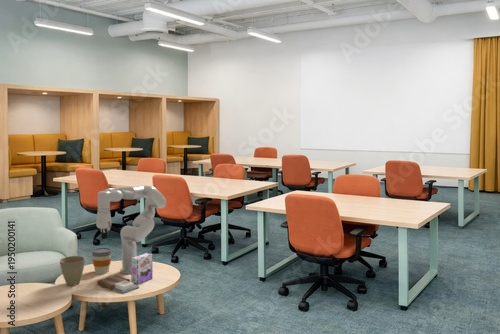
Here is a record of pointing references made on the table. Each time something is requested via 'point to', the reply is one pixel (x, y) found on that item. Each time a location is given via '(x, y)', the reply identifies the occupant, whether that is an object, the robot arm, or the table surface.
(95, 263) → the reusable coffee cup
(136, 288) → the mat
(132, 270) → the candy box
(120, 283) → the tile
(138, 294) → the table surface
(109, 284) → the brown flat square block
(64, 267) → the plant pot
